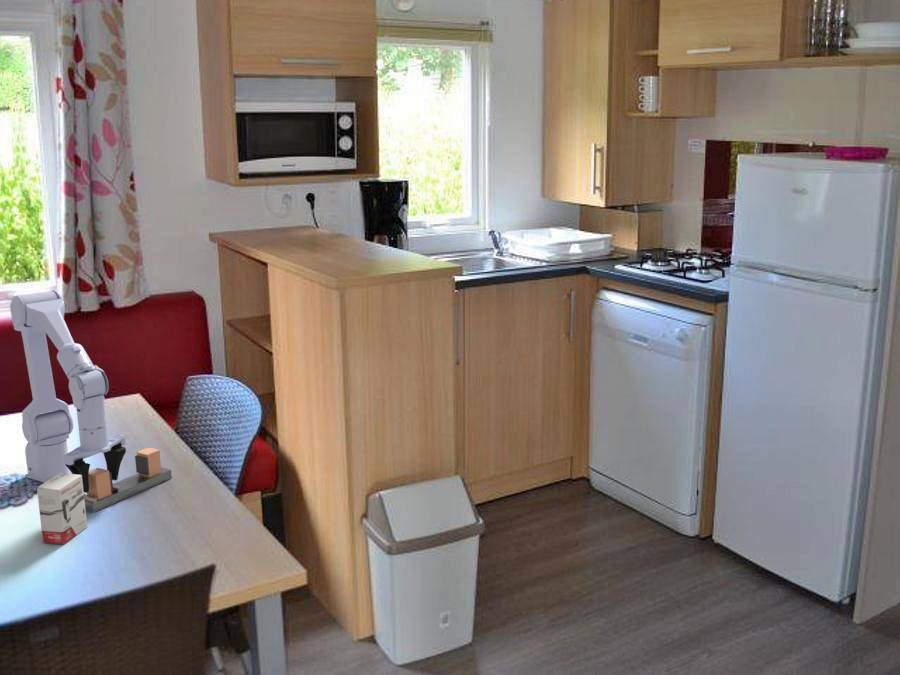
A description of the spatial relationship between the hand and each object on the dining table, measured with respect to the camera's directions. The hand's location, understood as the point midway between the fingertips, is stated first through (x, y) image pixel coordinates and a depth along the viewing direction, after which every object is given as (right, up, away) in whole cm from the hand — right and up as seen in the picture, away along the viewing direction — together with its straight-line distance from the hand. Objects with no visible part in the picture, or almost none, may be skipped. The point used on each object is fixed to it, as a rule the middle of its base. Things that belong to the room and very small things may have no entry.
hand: (99, 485), depth 205 cm
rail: (+4, -3, +7) cm, 8 cm away
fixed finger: (+7, +1, +12) cm, 14 cm away
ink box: (-2, -8, -14) cm, 16 cm away
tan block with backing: (0, -2, 0) cm, 2 cm away
